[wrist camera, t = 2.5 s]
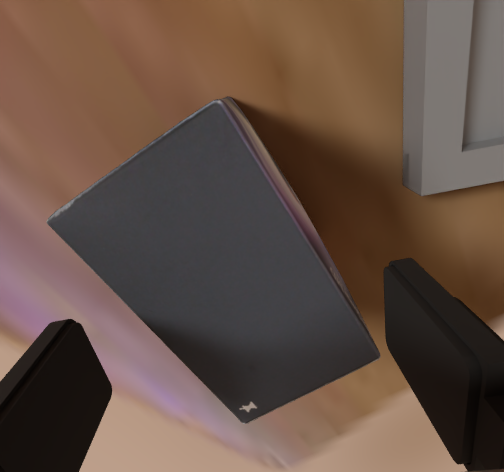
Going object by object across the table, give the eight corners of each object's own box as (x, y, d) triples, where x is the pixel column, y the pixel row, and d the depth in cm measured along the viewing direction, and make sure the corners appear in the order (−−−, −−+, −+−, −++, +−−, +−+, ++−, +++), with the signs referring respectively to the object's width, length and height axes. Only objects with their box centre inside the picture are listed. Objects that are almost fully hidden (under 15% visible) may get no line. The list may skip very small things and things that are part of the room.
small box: (324, 239, 21) (395, 363, 12) (240, 286, 22) (241, 433, 13) (233, 88, 17) (226, 87, 8) (138, 156, 18) (30, 228, 9)
